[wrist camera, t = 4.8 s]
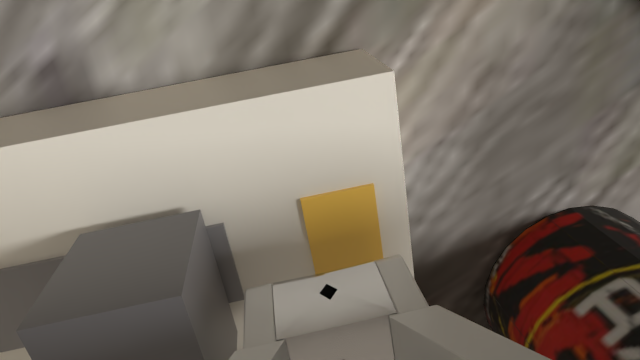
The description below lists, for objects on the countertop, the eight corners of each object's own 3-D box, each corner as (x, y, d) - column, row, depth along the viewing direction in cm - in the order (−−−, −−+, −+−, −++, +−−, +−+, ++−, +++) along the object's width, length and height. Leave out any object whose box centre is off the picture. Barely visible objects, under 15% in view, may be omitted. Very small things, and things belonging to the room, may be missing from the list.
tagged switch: (200, 208, 10) (181, 295, 7) (237, 331, 11) (232, 441, 8) (79, 234, 9) (15, 331, 7) (132, 354, 11) (95, 473, 8)
